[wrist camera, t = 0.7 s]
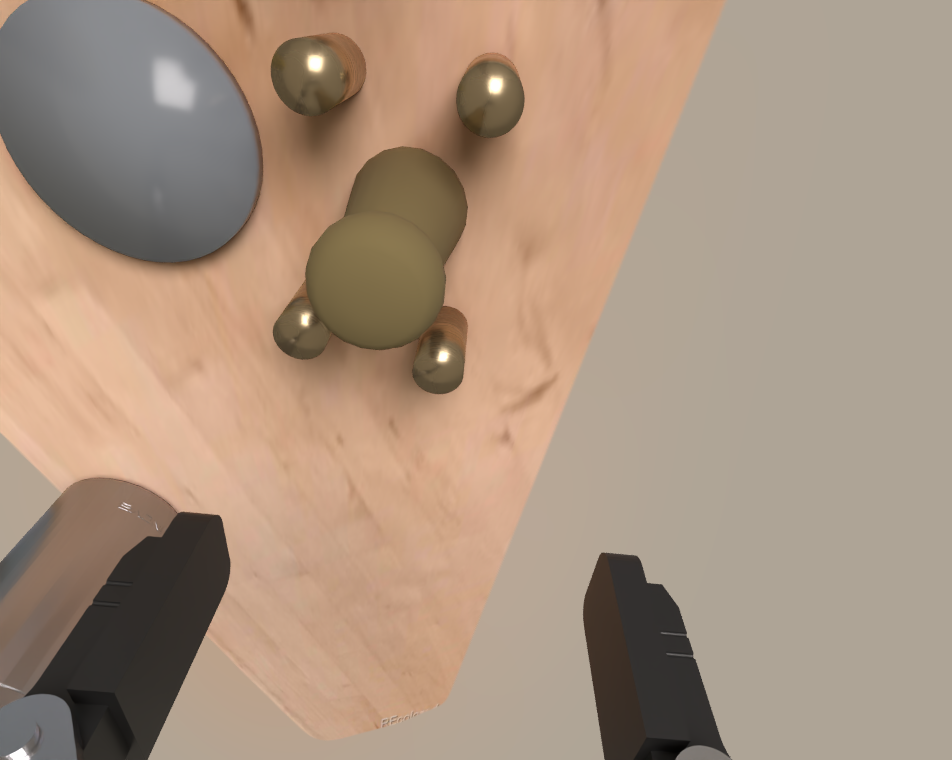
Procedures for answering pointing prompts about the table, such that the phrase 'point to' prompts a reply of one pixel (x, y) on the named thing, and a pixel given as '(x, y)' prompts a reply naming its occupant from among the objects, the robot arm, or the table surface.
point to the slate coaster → (128, 126)
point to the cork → (388, 251)
